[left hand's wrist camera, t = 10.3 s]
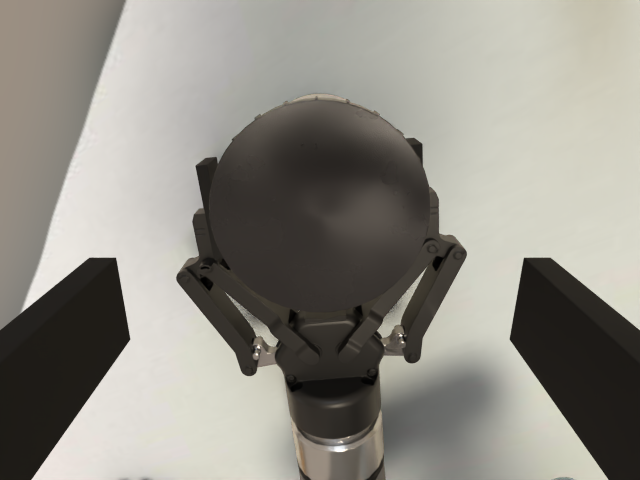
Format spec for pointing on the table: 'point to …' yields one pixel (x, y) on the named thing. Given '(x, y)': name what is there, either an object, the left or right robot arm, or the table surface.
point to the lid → (319, 205)
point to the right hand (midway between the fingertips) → (308, 150)
